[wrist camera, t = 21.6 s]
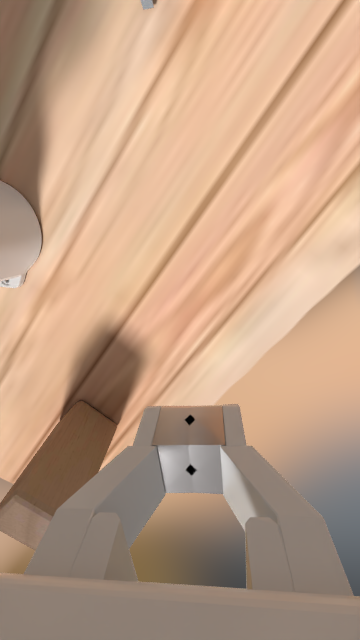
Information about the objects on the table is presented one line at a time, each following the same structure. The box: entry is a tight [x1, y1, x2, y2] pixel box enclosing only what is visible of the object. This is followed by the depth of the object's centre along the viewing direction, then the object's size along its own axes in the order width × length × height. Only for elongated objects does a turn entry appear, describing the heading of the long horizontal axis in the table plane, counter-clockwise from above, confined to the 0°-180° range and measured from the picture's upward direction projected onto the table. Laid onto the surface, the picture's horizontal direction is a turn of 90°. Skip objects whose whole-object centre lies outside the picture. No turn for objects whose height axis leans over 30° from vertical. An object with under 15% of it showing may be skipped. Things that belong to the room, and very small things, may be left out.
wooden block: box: [0, 401, 117, 550], centre depth 46 cm, size 10×10×20 cm
